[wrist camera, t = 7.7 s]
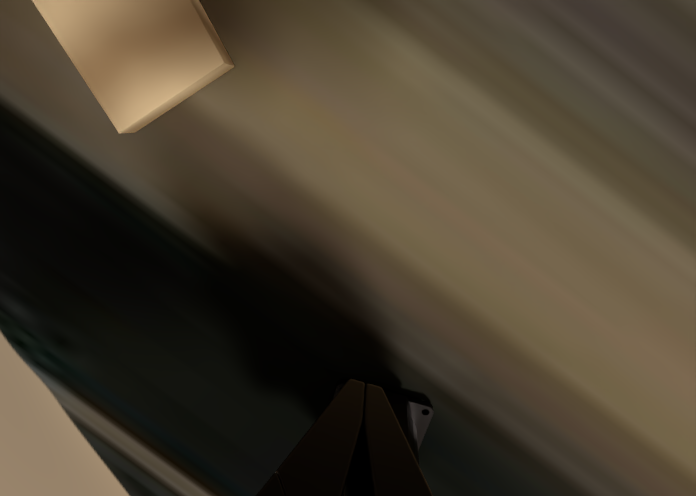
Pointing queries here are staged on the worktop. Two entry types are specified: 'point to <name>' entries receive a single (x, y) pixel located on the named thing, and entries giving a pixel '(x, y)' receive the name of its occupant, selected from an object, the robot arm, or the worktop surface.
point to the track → (138, 53)
